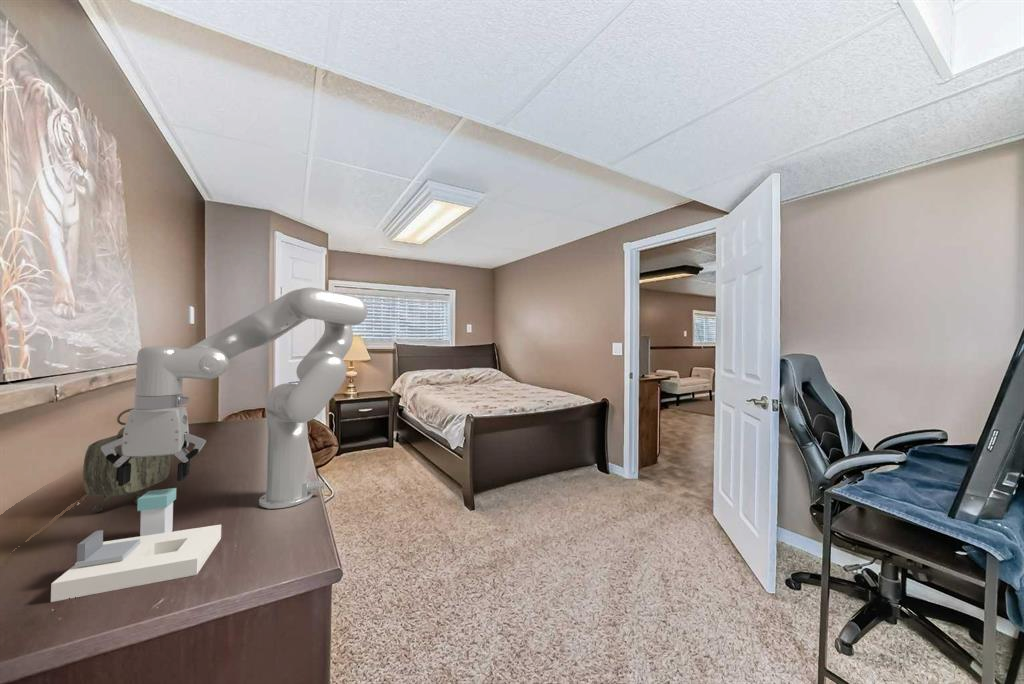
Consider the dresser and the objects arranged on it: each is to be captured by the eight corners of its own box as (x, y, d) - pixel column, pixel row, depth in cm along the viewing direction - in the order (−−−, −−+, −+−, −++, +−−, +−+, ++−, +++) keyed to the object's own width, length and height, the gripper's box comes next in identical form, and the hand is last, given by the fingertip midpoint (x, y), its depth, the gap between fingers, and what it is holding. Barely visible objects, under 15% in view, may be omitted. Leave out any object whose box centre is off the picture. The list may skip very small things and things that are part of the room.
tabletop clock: (142, 492, 105) (144, 404, 105) (173, 493, 105) (175, 404, 105) (81, 515, 91) (84, 413, 91) (117, 516, 90) (120, 414, 91)
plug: (175, 529, 84) (176, 487, 85) (165, 539, 80) (166, 495, 80) (147, 533, 83) (148, 490, 83) (136, 544, 78) (137, 499, 78)
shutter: (140, 543, 73) (140, 523, 73) (122, 560, 67) (123, 539, 67) (97, 549, 70) (97, 529, 70) (74, 568, 65) (75, 546, 65)
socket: (221, 538, 81) (221, 524, 81) (196, 574, 68) (197, 558, 68) (102, 557, 73) (103, 541, 73) (50, 602, 61) (51, 583, 61)
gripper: (213, 399, 88) (208, 472, 88) (115, 401, 81) (110, 480, 81) (201, 404, 81) (196, 482, 81) (93, 406, 75) (88, 492, 74)
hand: (153, 481), depth 81 cm, fingers open, 9 cm apart
